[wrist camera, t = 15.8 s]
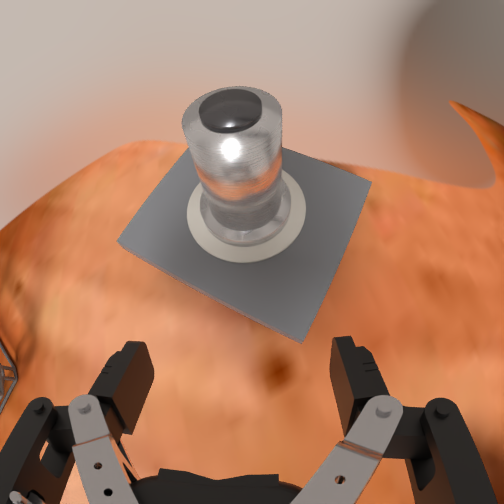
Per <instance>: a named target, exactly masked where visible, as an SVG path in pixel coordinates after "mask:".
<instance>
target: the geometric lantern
mask: <svg viewBox="0 0 504 504" xmlns="http://www.w3.org/2000/svg"><path fill="white" fill-rule="evenodd" d="M0 348H1V350H2V351H3V353H4V355H5V356H6V358H7V360H8V362H9V363H10V365H11V366H12V367H7V366H2V365H1V364H0V401H1V399H2V397H3V396H4V382H5V380H12V381H13V383H12V385H11V386H10V388H9V390H8V392H7V394H6V396H5V398H4V400H3V402H2V404H1V406H0V413H1V411H2V409H3V407H4V405H5V403H6V401H7V399H8V397H9V395H10V394H11V392H12V390H13V388H14V386H15V384H16V382H17V380H18V377H17V372H16V367H15V366H14V364H13V363H12V361H11V359H10V358H9V356H8V354H7V353H6V351H5V349H4V348H3V346H2V344H1V342H0ZM4 369H5V370H11V371H14V376H15V378H14V377H5V374H4Z"/></svg>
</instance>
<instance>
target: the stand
mask: <svg viewBox="0 0 504 504" xmlns="http://www.w3.org/2000/svg"><path fill="white" fill-rule="evenodd" d="M282 179H283V180H284V182H285V183H286V184H287V186H288V188H289V191H290V195H291V210H290V216H289V219H288V221H287V224H286V225H285V227H284V228H283V230H282V231H281V232H280V233H279V234H278V235H277V236H275V237H274V238H273V239H271V240H269V241H267V242H265V243H263V244H260V245H256V246H251V247H237V246H232V245H228V244H226V243H223V242H221V241H220V240H218V239H217V238H215V237H214V236H213V235H212V234H211V233H210V232H209V230H208V229H207V227H206V225H205V223H204V221H203V218H202V215H201V212H200V198H201V195H202V192H203V188H202V185H201V182H200V179H199V176H198V173H197V170H196V167H195V164H194V161H193V158H192V155H191V152H190V149H189V148H188V149H187V150H186V151H185V152H184V153H183V155H182V156H181V157H180V158H179V159H178V161H177V162H176V163H175V164H174V165H173V167H172V168H171V169H170V170H169V172H168V173H167V174H166V175H165V176H164V178H163V179H162V180H161V182H160V183H159V184H158V185H157V187H156V188H155V189H154V190H153V192H152V193H151V194H150V196H149V197H148V198H147V200H146V201H145V202H144V204H143V205H142V206H141V208H140V209H139V210H138V212H137V213H136V214H135V216H134V217H133V218H132V220H131V221H130V223H129V224H128V225H127V227H126V228H125V230H124V231H123V232H122V234H121V235H120V237H119V238H118V240H117V242H118V243H119V244H120V245H121V246H122V247H123V248H124V249H125V250H127V251H128V252H130V253H132V254H134V255H135V256H137V257H139V258H140V259H142V260H144V261H145V262H147V263H149V264H151V265H152V266H154V267H156V268H157V269H159V270H161V271H163V272H164V273H166V274H168V275H170V276H171V277H173V278H175V279H177V280H179V281H180V282H182V283H184V284H186V285H188V286H189V287H191V288H193V289H195V290H197V291H199V292H200V293H202V294H204V295H206V296H208V297H210V298H211V299H213V300H215V301H217V302H219V303H221V304H223V305H225V306H227V307H228V308H230V309H232V310H234V311H236V312H238V313H240V314H242V315H244V316H246V317H248V318H250V319H252V320H254V321H256V322H258V323H260V324H262V325H264V326H266V327H268V328H270V329H272V330H274V331H276V332H278V333H280V334H282V335H284V336H286V337H288V338H290V339H292V340H294V341H296V342H298V343H300V344H302V342H303V341H304V339H305V337H306V335H307V333H308V331H309V329H310V327H311V325H312V323H313V321H314V319H315V316H316V314H317V312H318V310H319V308H320V306H321V304H322V302H323V299H324V297H325V295H326V293H327V291H328V289H329V286H330V284H331V282H332V280H333V277H334V275H335V273H336V271H337V268H338V266H339V264H340V261H341V259H342V257H343V254H344V252H345V250H346V247H347V245H348V243H349V240H350V238H351V235H352V233H353V230H354V228H355V225H356V223H357V220H358V218H359V215H360V213H361V210H362V207H363V205H364V202H365V200H366V197H367V194H368V192H369V189H370V186H371V183H372V182H371V181H368V180H366V179H364V178H361V177H359V176H357V175H354V174H352V173H349V172H347V171H345V170H342V169H340V168H337V167H335V166H332V165H330V164H327V163H324V162H322V161H319V160H316V159H314V158H311V157H308V156H306V155H303V154H300V153H297V152H295V151H292V150H289V149H286V148H283V147H282Z"/></svg>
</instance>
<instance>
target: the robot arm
mask: <svg viewBox="0 0 504 504" xmlns="http://www.w3.org/2000/svg"><path fill="white" fill-rule="evenodd" d="M330 378H331V382H332V386H333V390H334V395H335V399H336V403H337V407H338V411H339V415H340V420H341V424H342V428H343V433H344V437H345V439H344V440H343V441H342V442H341V441H340V442H338V443H337V445H336V446H335V447H334V449H333V450H332V451H331V453H330V454H329V456H328V457H327V458H326V460H325V461H324V462H323V464H322V465H321V466H320V468H319V469H318V470H317V472H316V473H315V474H314V475H313V477H312V478H311V479H310V480H309V482H308V483H307V484H306V485H305V487H304V488H301V487H299V486H296V485H293V484H290V483H286V482H281V481H279V474H269V475H245V476H239V477H234V478H228V479H222V480H213V479H210V478H206V477H203V476H199V475H196V474H193V473H190V472H186V471H177V470H169V469H162V468H160V469H159V473H158V475H156V476H150V477H146V478H142V479H140V477H139V476H138V474H137V472H136V470H135V468H134V466H133V464H132V462H131V460H130V458H129V456H128V454H127V451H126V449H125V447H124V445H123V442H122V441H121V439H120V438H121V436H122V433H124V434H130V435H132V434H133V431H134V428H135V426H136V423H137V421H138V418H139V416H140V413H141V410H142V408H143V405H144V403H145V400H146V398H147V395H148V393H149V390H150V388H151V385H152V383H153V380H154V368H153V365H152V362H151V359H150V356H149V352H148V349H147V346H146V344H145V342H140V341H127V342H126V344H125V345H124V347H123V349H122V350H121V351H117V352H116V353H115V354H114V355H112V356H111V357H110V358H109V360H108V361H107V363H106V364H105V367H104V368H103V369H102V371H101V373H100V374H99V376H98V378H97V379H96V381H95V383H94V384H93V386H92V388H91V389H90V391H89V393H88V395H81V396H78V397H76V398H75V399H73V400H72V401H71V403H70V404H69V406H54V405H53V403H52V402H51V400H50V399H48V398H46V397H39V398H36V399H34V400H32V401H31V402H30V403H29V404H28V406H27V407H26V409H25V410H24V412H23V414H22V415H21V417H20V419H19V420H18V422H17V424H16V425H15V427H14V429H13V431H12V432H11V434H10V436H9V438H8V439H7V441H6V443H5V445H4V447H3V448H2V450H1V452H0V504H60V501H61V498H62V495H63V492H64V490H65V487H66V484H67V481H68V479H69V476H70V473H71V471H72V468H73V466H74V463H75V461H76V464H77V468H78V471H79V474H80V477H81V481H82V484H83V487H84V490H85V493H86V495H87V498H88V501H89V504H356V502H357V501H358V499H359V497H360V496H361V494H362V492H363V491H364V489H365V488H366V486H367V484H368V483H369V481H370V479H371V477H372V476H373V474H374V472H375V470H376V469H377V467H378V465H379V463H380V461H381V459H382V458H396V459H405V463H406V466H407V470H408V474H409V478H410V482H411V487H412V491H413V495H414V500H415V504H498V503H497V500H496V497H495V494H494V491H493V489H492V486H491V483H490V480H489V478H488V475H487V472H486V470H485V467H484V465H483V462H482V460H481V458H480V455H479V453H478V450H477V448H476V446H475V443H474V441H473V439H472V437H471V434H470V432H469V430H468V428H467V426H466V424H465V421H464V419H463V417H462V415H461V413H460V411H459V409H458V407H457V405H456V404H455V403H454V402H453V401H451V400H449V399H446V398H435V399H433V400H431V401H429V402H428V403H427V405H426V407H425V408H419V407H406V406H402V404H401V403H400V402H399V400H397V399H396V398H394V397H392V396H390V394H389V392H388V390H387V387H386V385H385V383H384V380H383V378H382V376H381V373H380V371H379V370H378V367H377V364H376V363H375V360H374V358H373V355H372V353H371V352H370V351H368V350H367V349H366V348H365V347H364V346H361V347H356V346H355V344H354V342H353V339H352V337H351V336H343V337H334V338H333V340H332V348H331V358H330ZM45 441H47V442H48V443H49V444H48V446H47V448H46V450H45V453H44V455H43V457H42V459H41V461H40V458H39V455H40V452H41V450H42V447H43V445H44V443H45Z"/></svg>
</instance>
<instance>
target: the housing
mask: <svg viewBox="0 0 504 504" xmlns="http://www.w3.org/2000/svg"><path fill="white" fill-rule="evenodd" d="M182 128H183V131H184V134H185V137H186V140H187V143H188V146H189V149H190V152H191V155H192V158H193V161H194V164H195V167H196V170H197V173H198V176H199V179H200V182H201V185H202V188H203V192H202V195H201V198H200V212H201V215H202V218H203V221H204V223H205V225H206V227H207V229H208V230H209V232H210V233H211V234H212V235H213V236H214V237H215V238H217V239H218V240H220V241H221V242H223V243H226V244H228V245H232V246H237V247H251V246H256V245H260V244H263V243H265V242H267V241H269V240H271V239H273V238H274V237H275V236H277V235H278V234H279V233H280V232H281V231H282V230H283V228H284V227H285V225H286V224H287V221H288V219H289V216H290V210H291V195H290V191H289V188H288V186H287V184H286V183H285V182H284V180H283V179H282V109H281V106H280V104H279V102H278V101H277V100H276V99H275V98H274V97H273V96H272V95H270V94H269V93H267V92H265V91H263V90H260V89H256V88H251V87H244V86H235V87H227V88H221V89H217V90H214V91H211V92H209V93H207V94H205V95H203V96H201V97H199V98H198V99H196V100H195V101H194V102H193V103H192V104H191V105H190V106H189V107H188V108H187V109H186V111H185V113H184V115H183V118H182Z"/></svg>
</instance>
